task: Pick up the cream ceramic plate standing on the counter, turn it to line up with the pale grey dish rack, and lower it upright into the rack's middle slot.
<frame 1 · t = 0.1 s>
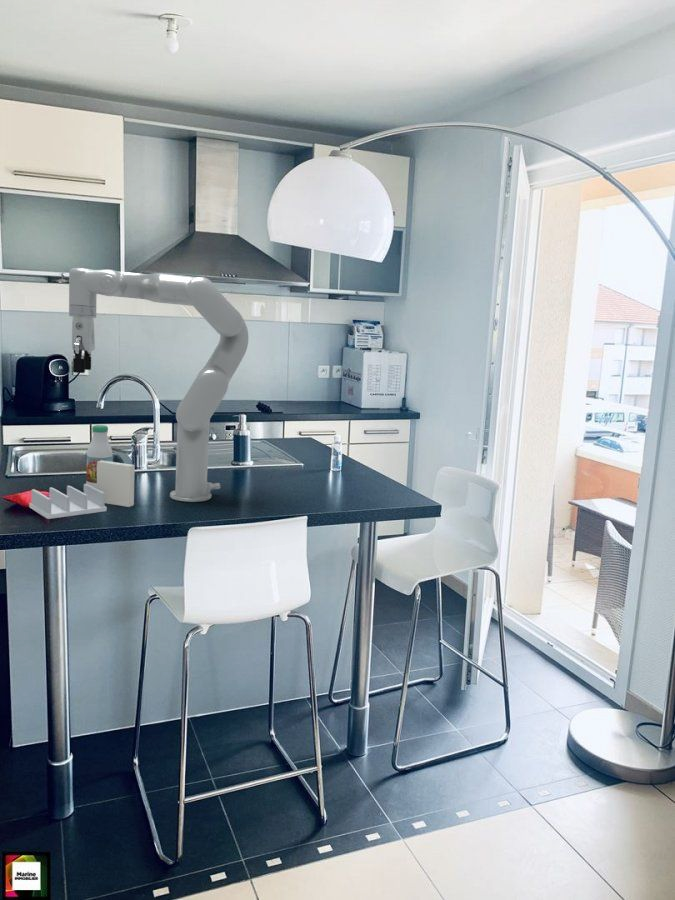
hand: (82, 371, 218), 37 cm above the table, tool pointing down, fingers open, 9 cm apart
plate: (115, 503, 218), on the table
dish rack: (68, 509, 208), on the table
milk bottle: (99, 489, 232), on the table
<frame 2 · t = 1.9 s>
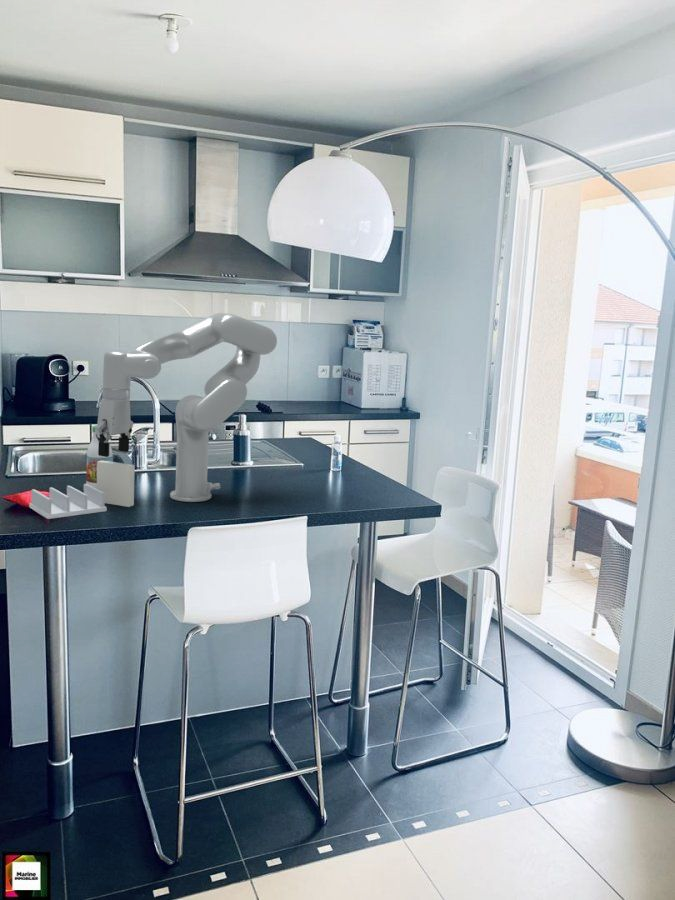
hand: (113, 453, 215), 15 cm above the table, tool pointing down, fingers open, 9 cm apart
nothing on the table moved.
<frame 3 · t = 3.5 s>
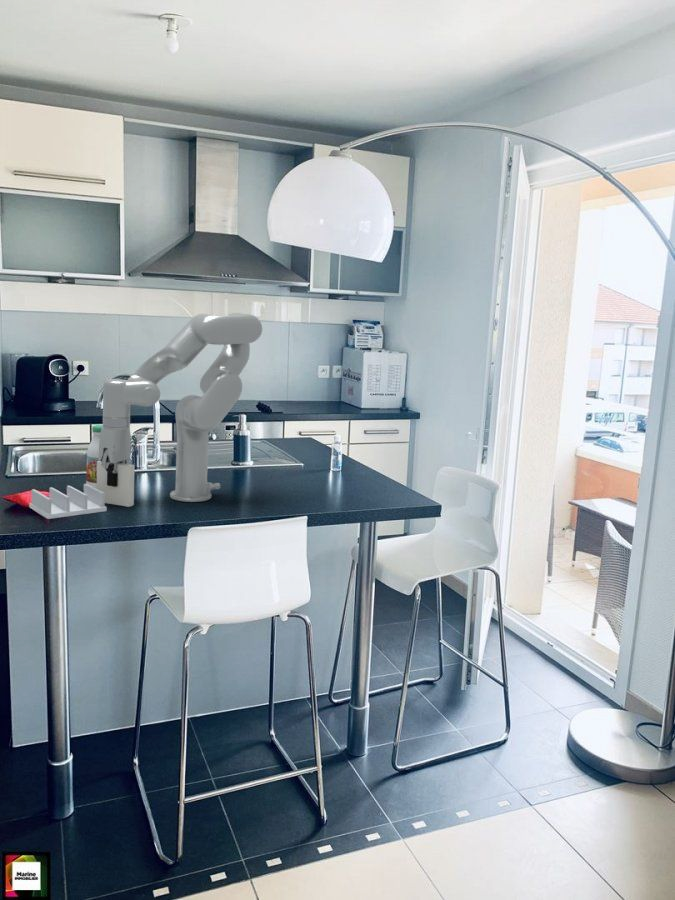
hand: (115, 484, 217), 6 cm above the table, tool pointing down, fingers closed on plate, 2 cm apart
plate: (115, 503, 218), on the table, touching gripper
everything else where it was.
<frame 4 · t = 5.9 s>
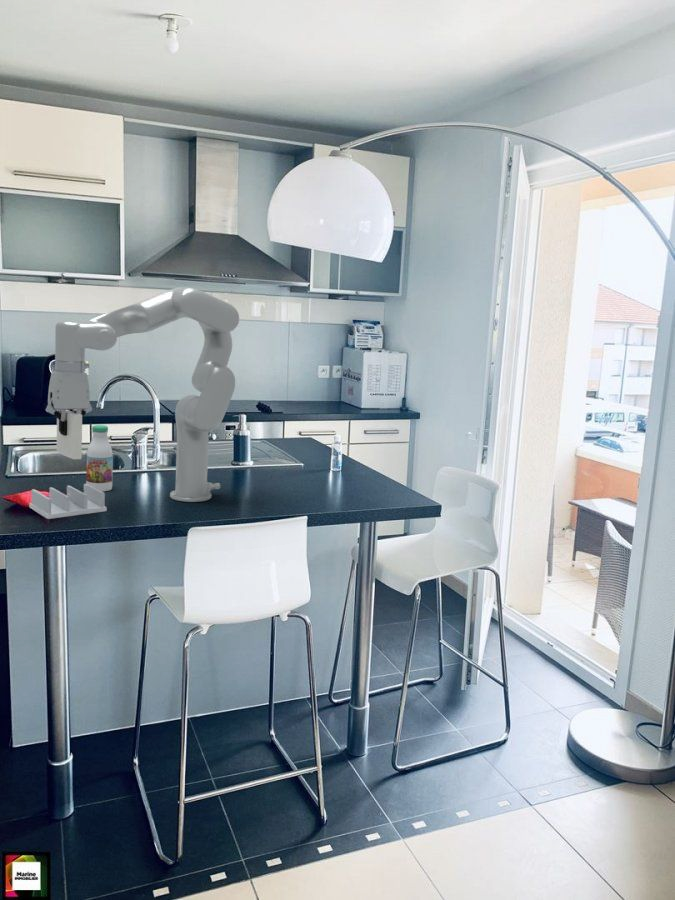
hand: (69, 433, 204), 21 cm above the table, tool pointing down, fingers closed on plate
plate: (68, 455, 206), point 15 cm above the table, touching gripper
everything else where it was.
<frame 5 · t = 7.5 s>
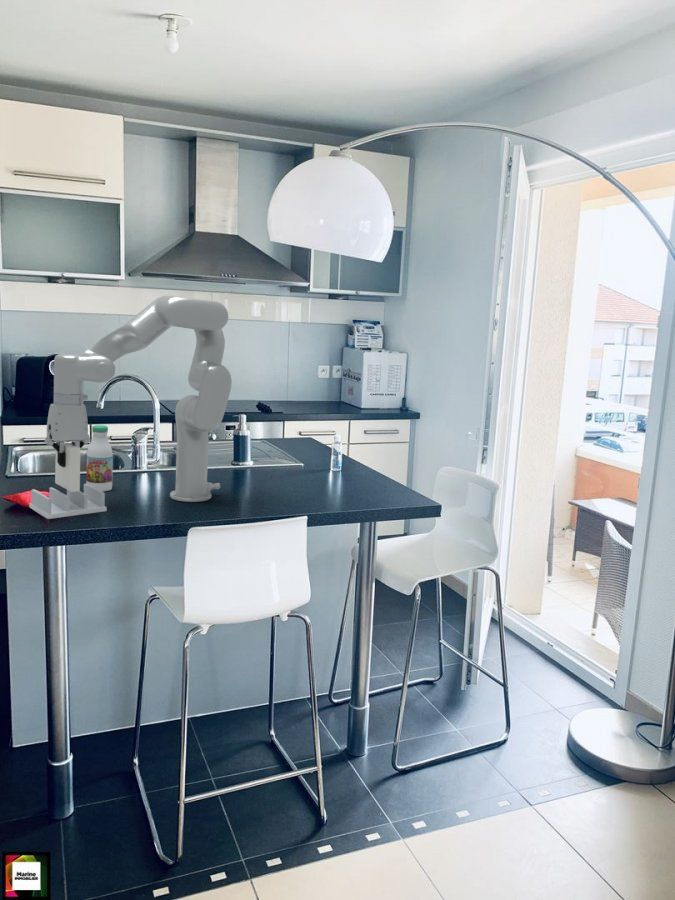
hand: (67, 465, 206), 13 cm above the table, tool pointing down, fingers closed on plate
plate: (67, 487, 207), point 6 cm above the table, touching gripper
everything else where it was.
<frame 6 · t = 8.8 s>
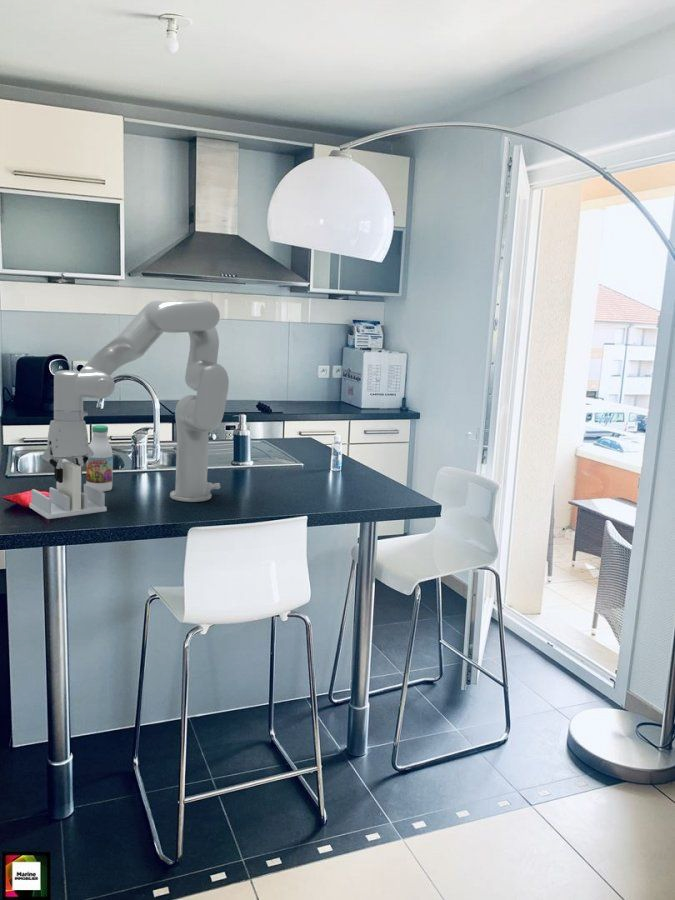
hand: (68, 480, 207), 8 cm above the table, tool pointing down, fingers open, 4 cm apart
plate: (68, 505, 208), point 1 cm above the table, touching dish rack
everything else where it was.
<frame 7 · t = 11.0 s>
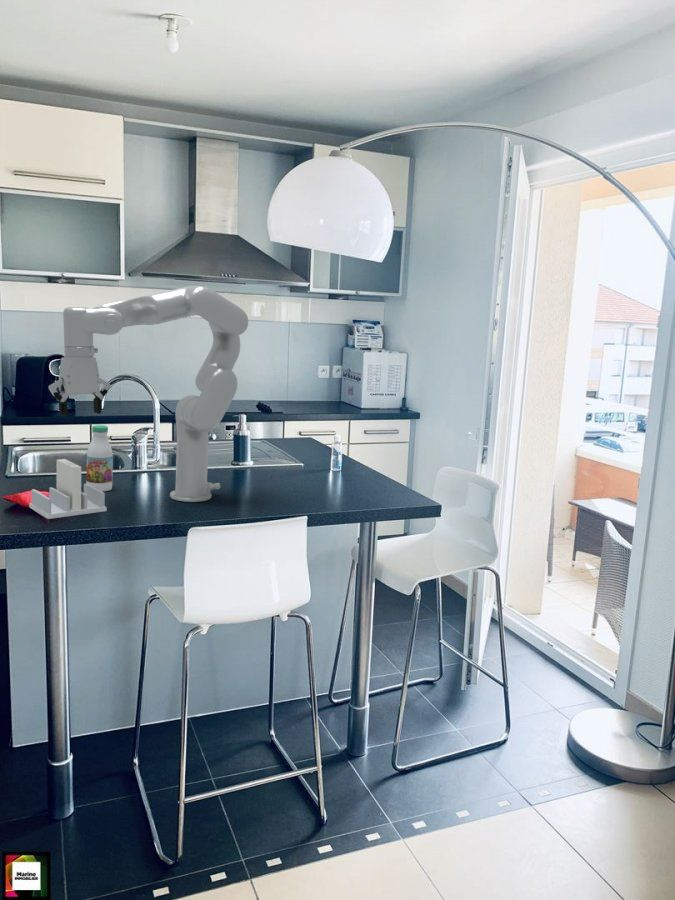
hand: (81, 414, 208), 26 cm above the table, tool pointing down, fingers open, 9 cm apart
nothing on the table moved.
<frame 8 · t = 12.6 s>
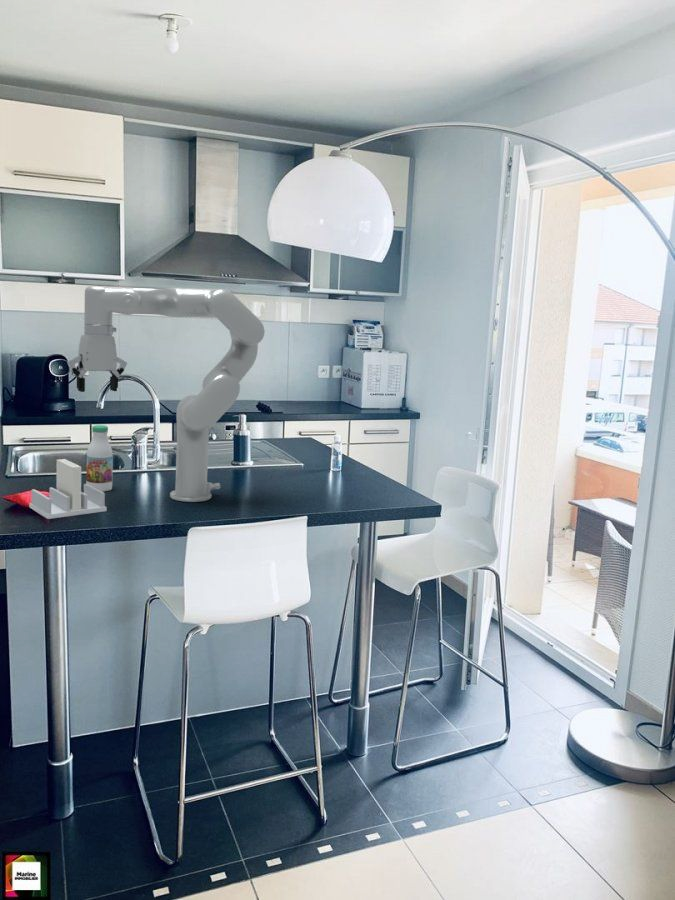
hand: (97, 391, 214), 32 cm above the table, tool pointing down, fingers open, 9 cm apart
nothing on the table moved.
at the end: plate 0.1 cm off-centre on the dish rack, point 1.2 cm above the dish rack's base; plate tilted 0°; the gripper is holding nothing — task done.
